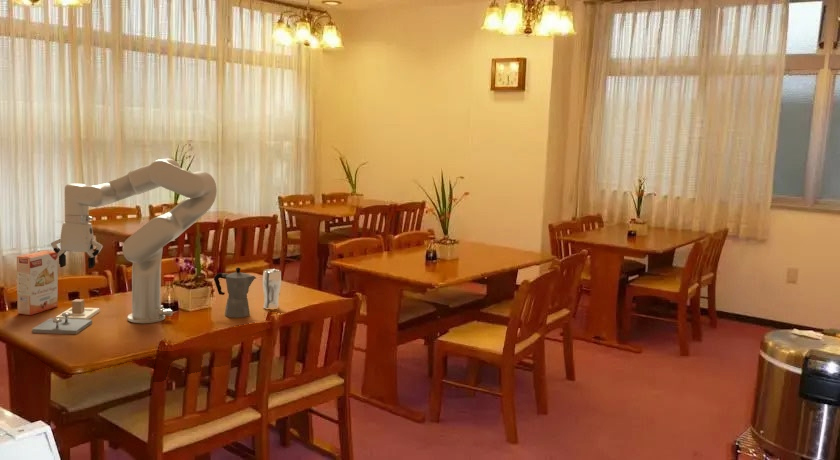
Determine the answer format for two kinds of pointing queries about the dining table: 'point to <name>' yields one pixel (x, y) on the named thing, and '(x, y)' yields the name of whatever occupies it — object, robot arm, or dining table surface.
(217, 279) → the coffeepot
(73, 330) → the board
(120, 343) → the dining table surface
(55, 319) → the bosses
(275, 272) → the beer glass
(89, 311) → the panel
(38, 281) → the cracker box
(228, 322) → the dining table surface
